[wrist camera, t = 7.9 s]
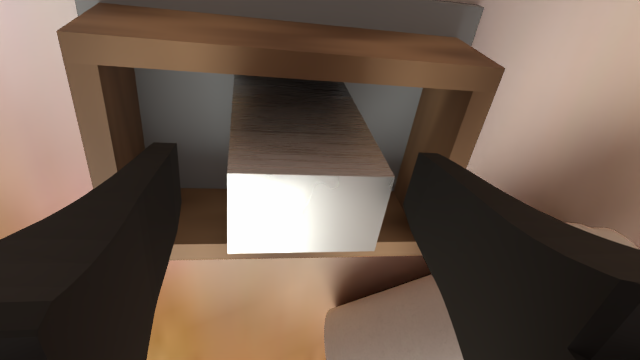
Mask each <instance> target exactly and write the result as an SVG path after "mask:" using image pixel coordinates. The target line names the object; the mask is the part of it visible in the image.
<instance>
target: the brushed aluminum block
mask: <svg viewBox="0 0 640 360" xmlns="http://www.w3.org/2000/svg"><path fill="white" fill-rule="evenodd" d="M394 179H395V176H394V174H393V172H392V171H391V169H390V167H389V165H388V163H387V161H386V160H385V158H384V156H383V154H382V152H381V150H380V148H379V147H378V145H377V143H376V141H375V139H374V137H373V136H372V134H371V132H370V130H369V128H368V126H367V124H366V123H365V121H364V119H363V117H362V115H361V113H360V111H359V110H358V108H357V106H356V104H355V102H354V100H353V99H352V97H351V95H350V93H349V91H348V89H347V87H346V86H345V84H344V82H333V81H319V80H304V79H290V78H276V77H261V76H247V75H234V85H233V99H232V113H231V127H230V141H229V155H228V169H227V254H236V253H297V252H359V251H375V247H376V244H377V240H378V236H379V233H380V229H381V226H382V222H383V218H384V215H385V211H386V208H387V204H388V201H389V197H390V193H391V190H392V186H393V183H394Z"/></svg>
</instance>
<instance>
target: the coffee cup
mask: <svg viewBox="0 0 640 360" xmlns="http://www.w3.org/2000/svg"><path fill="white" fill-rule="evenodd" d="M564 223H567V224H569V225H572V226H574V227H577V228H579V229H582V230H584V231H587V232H589V233H592V234H595V235H597V236H600V237H603V238H606V239H608V240H611V241H614V242H617V243H620V244H623V245H627V246H630V247H633V248H636V249H639V248H638V247H637V246H636V245H634V244H633V243H632V242H631V241H630V240H629V239H627V238H626V237H625V236H623V235H622V234H620V233H618V232H617V231H614V230H612V229H609V228H590V227H588V226H585V225H583V224H578V223H569V222H564ZM639 250H640V249H639ZM324 343H325V354H326V360H464V359H463V356H462V353H461V350H460V347H459V343H458V340H457V337H456V334H455V331H454V328H453V325H452V322H451V319H450V317H449V314H448V311H447V308H446V305H445V302H444V300H443V298H442V295H441V293H440V291H439V288H438V286H437V284H436V282H435V280H434V278H433V276H432V274H431V275H428V276H425V277H422V278H420V279H417V280H414V281H411V282H408V283H405V284H402V285H399V286H396V287H393V288H390V289H388V290H385V291H382V292H379V293H376V294H373V295H370V296H367V297H364V298H361V299H358V300H355V301H353V302H350V303H347V304H344V305H341V306H338V307H335V308H332V309H330V310H329V311H328V312H327V314H326V318H325V325H324Z"/></svg>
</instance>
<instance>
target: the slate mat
mask: <svg viewBox="0 0 640 360" xmlns="http://www.w3.org/2000/svg"><path fill="white" fill-rule="evenodd" d="M97 3H109V4H119V5H129V6H139V7H149V8H160V9H170V10H180V11H190V12H200V13H211V14H221V15H231V16H241V17H252V18H262V19H272V20H282V21H292V22H303V23H313V24H323V25H333V26H343V27H354V28H364V29H374V30H384V31H395V32H405V33H415V34H425V35H435V36H446V37H456V38H458V39H460V40H461V41H463V42H465V43H466V44H468V45H469V46H471V45H472V42H473V39H474V36H475V33H476V30H477V27H478V24H479V21H480V18H481V15H482V12H483V9H484V7H482V6H479V5H472V4H463V3H455V2H446V1H438V0H75V4H76V9H77V14H78V16H80V15H81V14H83V13H84V12H86V11H87V10H89V9H90V8H91V7H93V6H94V5H96V4H97ZM134 71H135V78H136V86H137V93H138V100H139V108H140V115H141V123H142V130H143V137H144V145H145V149H146V148H147V147H148V146H149V145H151V144H152V143H153V142H159V143H177V152H178V164H179V176H180V188H205V189H227V169H228V155H229V141H230V127H231V113H232V99H233V85H234V75H233V74H218V73H204V72H190V71H175V70H161V69H147V68H134ZM344 84H345V86H346V87H347V89H348V91H349V93H350V95H351V97H352V99H353V100H354V102H355V104H356V106H357V108H358V110H359V111H360V113H361V115H362V117H363V119H364V121H365V123H366V124H367V126H368V128H369V130H370V132H371V134H372V136H373V137H374V139H375V141H376V143H377V145H378V147H379V148H380V150H381V152H382V154H383V156H384V158H385V160H386V161H387V163H388V165H389V167H390V169H391V171H392V172H393V174H394V176H395V179H394V183H393V186H392V190H391V191H394V188H395V185H396V181H397V178H398V174H399V171H400V167H401V164H402V160H403V157H404V153H405V149H406V146H407V142H408V139H409V135H410V132H411V128H412V125H413V121H414V118H415V114H416V111H417V107H418V104H419V100H420V96H421V93H422V89H423V88H419V87H405V86H391V85H376V84H362V83H348V82H344Z"/></svg>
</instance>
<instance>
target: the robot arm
mask: <svg viewBox="0 0 640 360" xmlns="http://www.w3.org/2000/svg"><path fill="white" fill-rule="evenodd" d="M181 203H182V200H181V188H180V176H179V164H178V152H177V143H159V142H153V143H152V144H151V145H149V146H148V147H147V148H146V149H145V150H143V151H142V152H141V153H140V154H139V155H137V156H136V157H135V158H134V159H133V160H131V161H130V162H129V163H128V164H127V165H125V166H124V167H123V168H121V169H120V170H119V171H118V172H116V173H115V174H114V175H113V176H111V177H110V178H108V179H107V180H106V181H104V182H103V183H101V184H100V185H99V186H97V187H96V188H94V189H93V190H91V191H90V192H89V193H87V194H86V195H84V196H83V197H81V198H80V199H78V200H76V201H75V202H73V203H71V204H70V205H68V206H66V207H65V208H63V209H61V210H59V211H58V212H56V213H54V214H52V215H50V216H49V217H47V218H45V219H43V220H41V221H39V222H37V223H34V224H32V225H30V226H28V227H26V228H24V229H22V230H20V231H18V232H16V233H13V234H11V235H9V236H7V237H5V238H3V239H0V360H146V359H147V353H148V346H149V341H150V335H151V329H152V324H153V318H154V313H155V308H156V304H157V300H158V296H159V293H160V289H161V286H162V283H163V279H164V276H165V272H166V269H167V266H168V262H169V259H170V256H171V252H172V249H173V245H174V242H175V238H176V235H177V231H178V224H179V218H180V210H181ZM403 207H404V210H405V214H406V217H407V221H408V224H409V227H410V230H411V232H412V234H413V237H414V239H415V241H416V243H417V245H418V247H419V249H420V251H421V254H422V256H423V258H424V260H425V262H426V264H427V266H428V268H429V270H430V272H431V274H432V276H433V278H434V280H435V282H436V284H437V286H438V288H439V291H440V293H441V295H442V298H443V300H444V302H445V305H446V308H447V311H448V314H449V317H450V319H451V322H452V325H453V328H454V331H455V334H456V337H457V340H458V343H459V347H460V350H461V353H462V356H463V359H464V360H640V250H639V249H636V248H633V247H630V246H627V245H623V244H620V243H617V242H614V241H611V240H608V239H606V238H603V237H600V236H597V235H595V234H592V233H589V232H587V231H584V230H582V229H579V228H577V227H574V226H572V225H569V224H567V223H564V222H562V221H560V220H558V219H555V218H553V217H551V216H549V215H547V214H545V213H543V212H540V211H538V210H536V209H534V208H532V207H530V206H528V205H526V204H524V203H523V202H521V201H519V200H517V199H515V198H514V197H512V196H510V195H508V194H506V193H505V192H503V191H501V190H499V189H498V188H496V187H494V186H493V185H491V184H489V183H488V182H486V181H484V180H483V179H481V178H480V177H478V176H476V175H475V174H473V173H471V172H470V171H468V170H467V169H465V168H463V167H462V166H460V165H458V164H457V163H455V162H453V161H452V160H450V159H448V158H446V157H444V156H442V155H440V154H438V153H422V152H419V153H418V156H417V160H416V163H415V166H414V170H413V173H412V176H411V180H410V183H409V186H408V189H407V193H406V196H405V199H404V203H403Z"/></svg>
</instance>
